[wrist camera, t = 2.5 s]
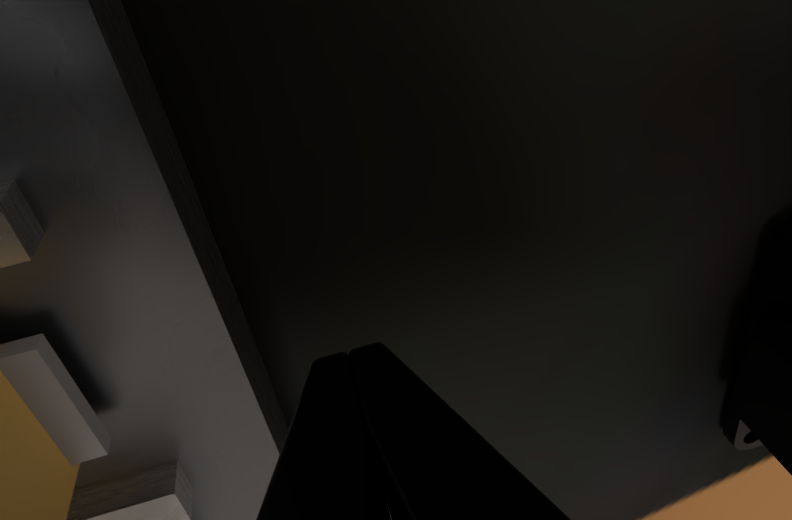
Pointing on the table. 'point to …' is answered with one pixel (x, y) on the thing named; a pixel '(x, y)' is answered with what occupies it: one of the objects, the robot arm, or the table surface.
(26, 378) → the slider amber
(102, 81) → the panel
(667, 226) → the table surface
